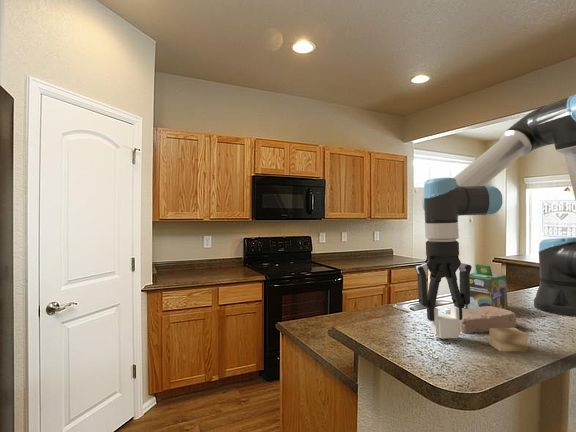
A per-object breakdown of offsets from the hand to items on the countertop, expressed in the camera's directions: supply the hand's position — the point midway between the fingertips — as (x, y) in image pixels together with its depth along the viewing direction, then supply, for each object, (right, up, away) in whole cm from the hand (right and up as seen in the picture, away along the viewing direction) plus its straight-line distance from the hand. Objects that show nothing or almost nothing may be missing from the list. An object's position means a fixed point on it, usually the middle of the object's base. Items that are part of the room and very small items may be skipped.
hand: (445, 332), depth 81 cm
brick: (+14, -2, +9) cm, 17 cm away
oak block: (+12, -1, -6) cm, 13 cm away
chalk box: (+25, -2, +24) cm, 35 cm away
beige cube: (0, 0, 0) cm, 0 cm away
